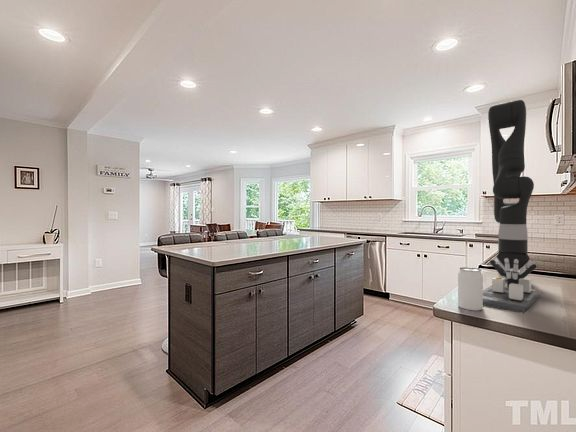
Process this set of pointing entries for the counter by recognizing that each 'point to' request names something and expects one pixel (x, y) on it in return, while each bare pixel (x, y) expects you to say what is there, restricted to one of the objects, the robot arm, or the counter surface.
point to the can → (470, 289)
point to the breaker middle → (498, 284)
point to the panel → (505, 302)
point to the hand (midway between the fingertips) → (512, 289)
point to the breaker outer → (515, 291)
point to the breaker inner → (525, 284)
